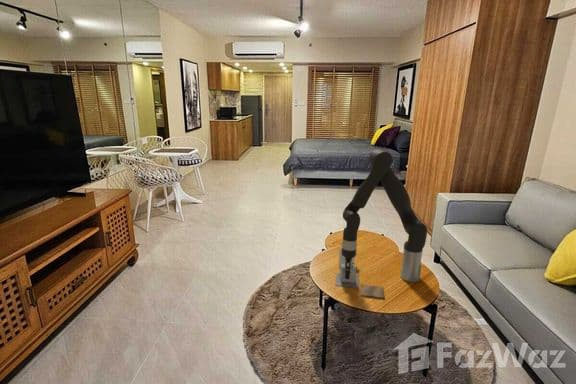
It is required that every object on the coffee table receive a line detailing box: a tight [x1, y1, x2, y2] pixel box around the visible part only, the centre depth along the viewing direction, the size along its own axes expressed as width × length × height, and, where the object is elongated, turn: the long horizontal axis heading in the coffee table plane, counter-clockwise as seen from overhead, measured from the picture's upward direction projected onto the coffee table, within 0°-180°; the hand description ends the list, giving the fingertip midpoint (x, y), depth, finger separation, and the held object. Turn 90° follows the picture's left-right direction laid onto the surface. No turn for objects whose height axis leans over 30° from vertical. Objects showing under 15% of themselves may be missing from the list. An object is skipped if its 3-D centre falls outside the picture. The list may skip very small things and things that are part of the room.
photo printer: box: [338, 246, 356, 266], centre depth 181 cm, size 10×4×12 cm, turn 123°
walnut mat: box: [360, 284, 385, 300], centre depth 156 cm, size 11×9×1 cm
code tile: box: [334, 272, 360, 289], centre depth 166 cm, size 12×12×1 cm
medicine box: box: [339, 263, 358, 282], centre depth 164 cm, size 8×4×9 cm, turn 92°
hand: (347, 274), depth 165 cm, fingers open, 8 cm apart
